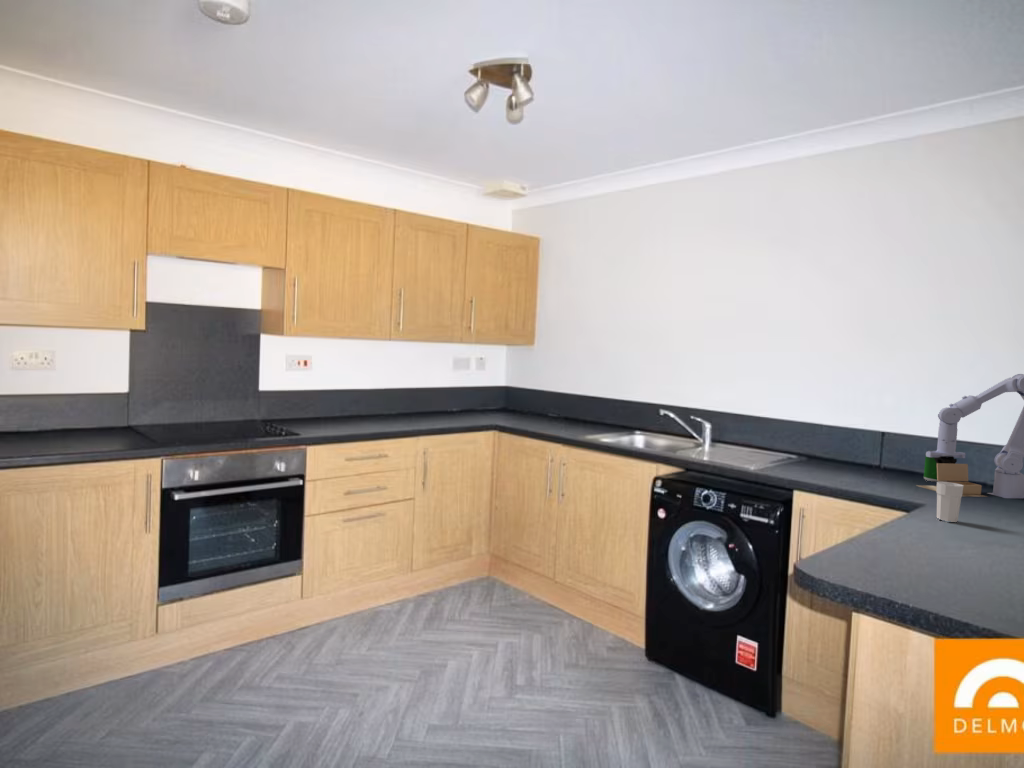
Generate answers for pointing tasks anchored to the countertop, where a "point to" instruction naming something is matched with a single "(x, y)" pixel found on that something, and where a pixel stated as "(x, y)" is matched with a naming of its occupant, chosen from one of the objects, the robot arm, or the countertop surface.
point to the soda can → (930, 469)
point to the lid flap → (952, 472)
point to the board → (936, 490)
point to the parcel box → (969, 488)
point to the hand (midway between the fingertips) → (943, 477)
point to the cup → (948, 500)
